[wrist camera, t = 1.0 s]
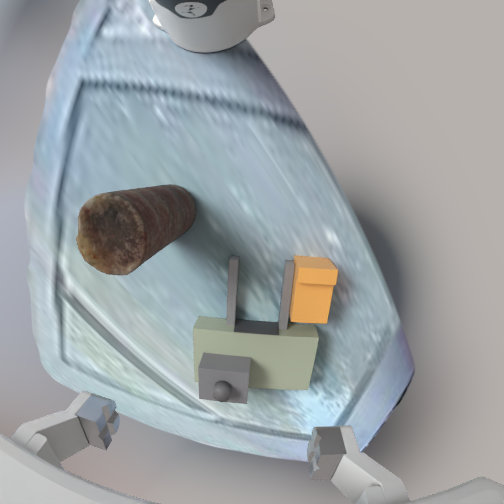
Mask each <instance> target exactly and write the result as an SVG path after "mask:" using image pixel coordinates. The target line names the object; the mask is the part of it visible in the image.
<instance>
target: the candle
mask: <svg viewBox="0 0 504 504" xmlns="http://www.w3.org/2000/svg"><path fill="white" fill-rule="evenodd" d="M195 212H196V209H195V203H194V200H193V198H192V197H191V195H190V194H189V192H188V191H187V190H185V189H184V188H182V187H180V186H178V185H160V186H154V187H145V188H137V189H130V190H122V191H114V192H108V193H102V194H99V195H96V196H94V197H92V198H90V199H89V200H87V201H86V203H85V204H84V205H83V207H82V208H81V210H80V213H79V216H78V236H77V238H76V240H77V245H78V249H79V251H80V253H81V254H82V256H83V258H84V260H85V261H86V262H87V263H88V264H90V265H91V266H93V267H95V268H96V269H97V270H99V271H101V272H103V273H106V274H111V275H128V274H129V273H131V272H133V271H134V270H135V269H137V268H138V267H139V266H140V265H141V264H143V263H144V262H145V261H147V260H148V259H150V258H151V257H152V256H153V255H155V254H156V253H157V252H159V251H160V250H162V249H163V248H164V247H166V246H167V245H168V244H170V243H171V242H173V241H174V240H176V239H177V238H179V237H180V236H181V235H182V234H184V233H185V232H186V231H187V230H188V229H189V228H190V227H191V226H192V224H193V222H194V220H195Z"/></svg>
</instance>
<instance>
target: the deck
mask: <svg viewBox="0 0 504 504" xmlns="http://www.w3.org/2000/svg"><path fill="white" fill-rule="evenodd" d="M294 267H295V264H294V261H291V260H285V265H284V275H283V285H282V294H281V303H280V312H279V320H278V322H265V321H251V320H239V319H236V305H237V286H238V269H239V257H238V256H231V257H230V259H229V273H228V295H227V319H222V318H212V317H203V316H199V317H198V319H197V321H196V323H195V325H194V327H193V346H194V374H195V381H196V382H199V399H206V400H214V401H219V402H232V403H243V404H247V395H248V387H251V388H265V389H286V390H308V388H309V383H310V379H311V374H312V370H313V365H314V360H315V356H316V351H317V346H318V341H319V336H318V333H317V330H316V327H315V325H305V324H288V317H289V309H290V301H291V293H292V284H293V276H294Z"/></svg>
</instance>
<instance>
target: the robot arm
mask: <svg viewBox="0 0 504 504" xmlns="http://www.w3.org/2000/svg"><path fill="white" fill-rule="evenodd" d="M149 3H150V5H151V7H152V9H153V11H154V13H155V15H154V18H153V23H154V25H155V26H156V27H158V28H160V29H162V30H164V31H166V32H167V33H168V35H169V36H170V38H171V39H172V41H173V42H174V43H176V44H177V45H178V46H180V47H182V48H184V49H186V50H189V51H194V52H216V51H221V50H224V49H227V48H230V47H232V46H235V45H237V44H239V43H240V42H242V41H243V40H245V39H246V38H247V37H248V36H249V35H250V34H251V33H252V32H253V31H254V30H255V29H257V28H258V27H260V26H263V25H265V24H267V23H270V22H271V21H273V20H274V18H275V14H274V9H273V4H272V0H149ZM263 9H267V11H264V10H263ZM115 409H116V403H115V401H113V400H111V399H108V398H105V397H101V396H99V395H96V394H92V393H89V392H86V391H82V392H81V393H80V394H79V395H78V396H77V398H76V399H75V400H74V401H73V403H72V404H71V405H70V406H69V407H68V409H67V410H66V411H63V410H62V411H60V412H57V413H54V414H51V415H48V416H45V417H42V418H39V419H36V420H32V421H30V422H26V423H23V424H22V425H21V426H20V427H19V428H18V429H17V430H16V432H15V433H14V434H13V435H12V436H11V437H10V438H7V437H6V436H4V435H3V434H1V433H0V504H159V503H155V502H151V501H147V500H144V499H140V498H137V497H133V496H130V495H127V494H124V493H121V492H118V491H115V490H112V489H109V488H106V487H104V486H101V485H99V484H96V483H93V482H91V481H89V480H86V479H84V478H81V477H79V476H77V475H75V474H72V473H70V472H68V471H66V470H64V468H63V466H62V465H61V463H60V462H61V461H63V460H65V459H66V458H68V457H70V456H72V455H73V454H75V453H77V452H79V451H81V450H82V449H84V448H86V447H88V446H89V445H92V446H95V447H98V448H101V449H104V450H107V448H108V446H109V445H110V443H111V441H112V439H111V435H113V434H115V433H116V432H117V430H118V427H119V423H120V420H119V415H118V413H117V412H116V411H115ZM307 457H308V461H309V462H310V463H311V464H310V466H309V473H310V480H331V481H332V482H333V483H334V485H335V486H336V487H337V488H338V489H339V490H340V491H341V492H342V493H343V494H344V495H345V496H346V497H347V498H348V499H349V500H350V501H351V502H352V503H353V504H504V485H502V484H500V483H497V482H495V481H493V480H491V479H487V478H485V477H478V478H476V479H473V480H470V481H468V482H466V483H463V484H461V485H458V486H456V487H453V488H451V489H448V490H445V491H442V492H439V493H436V494H433V495H430V496H427V497H424V498H420V499H417V500H413V501H410V500H409V497H408V495H407V492H406V489H405V487H404V484H403V482H402V480H401V479H400V478H398V477H397V476H395V475H393V474H392V473H391V472H390V471H388V470H387V469H385V468H384V467H382V466H381V465H380V464H378V463H377V462H375V461H374V460H373V459H371V458H370V457H369V456H367V455H366V454H365V453H360V451H359V448H358V444H357V441H356V438H355V435H354V432H353V429H352V427H351V426H350V425H348V426H329V427H314V428H313V431H312V438H311V439H310V440H309V443H308V449H307Z"/></svg>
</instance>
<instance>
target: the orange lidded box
mask: <svg viewBox="0 0 504 504" xmlns="http://www.w3.org/2000/svg"><path fill="white" fill-rule="evenodd" d="M294 264H295V267H294V276H293V284H292V293H291V301H290V309H289V313H290V319H291V322H302V323H323V324H327V320H328V315H329V309H330V304H331V298H332V292H333V286H334V285H336V281H337V274H338V269H337V268H336V267H335V266H334V264H333V263H332V262H331V260H330V259H329V258H321V257H308V256H294Z"/></svg>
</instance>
